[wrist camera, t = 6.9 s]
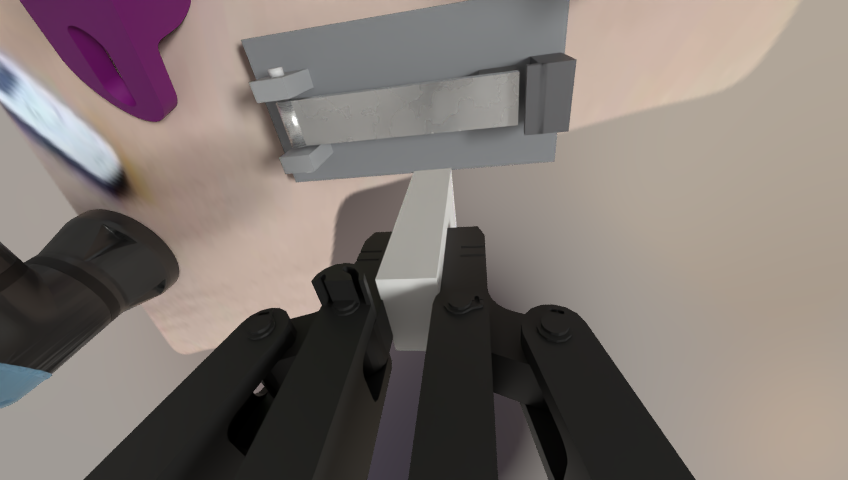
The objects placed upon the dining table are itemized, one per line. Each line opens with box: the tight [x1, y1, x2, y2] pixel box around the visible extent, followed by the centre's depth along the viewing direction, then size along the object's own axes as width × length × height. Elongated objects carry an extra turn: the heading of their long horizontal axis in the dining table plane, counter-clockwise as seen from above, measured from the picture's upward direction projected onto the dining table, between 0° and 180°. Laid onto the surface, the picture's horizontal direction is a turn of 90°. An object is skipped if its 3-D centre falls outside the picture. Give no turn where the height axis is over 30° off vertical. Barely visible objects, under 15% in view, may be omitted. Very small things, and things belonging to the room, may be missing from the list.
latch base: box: [241, 0, 576, 182], centre depth 29 cm, size 28×14×7 cm, turn 98°
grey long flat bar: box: [276, 70, 519, 148], centre depth 28 cm, size 21×4×2 cm, turn 98°
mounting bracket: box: [20, 0, 191, 122], centre depth 30 cm, size 10×8×18 cm
